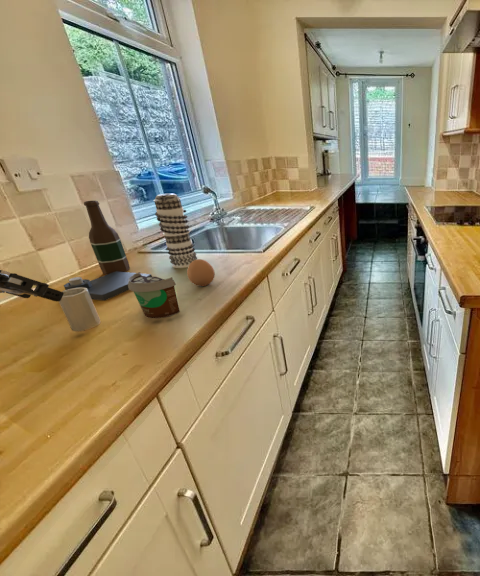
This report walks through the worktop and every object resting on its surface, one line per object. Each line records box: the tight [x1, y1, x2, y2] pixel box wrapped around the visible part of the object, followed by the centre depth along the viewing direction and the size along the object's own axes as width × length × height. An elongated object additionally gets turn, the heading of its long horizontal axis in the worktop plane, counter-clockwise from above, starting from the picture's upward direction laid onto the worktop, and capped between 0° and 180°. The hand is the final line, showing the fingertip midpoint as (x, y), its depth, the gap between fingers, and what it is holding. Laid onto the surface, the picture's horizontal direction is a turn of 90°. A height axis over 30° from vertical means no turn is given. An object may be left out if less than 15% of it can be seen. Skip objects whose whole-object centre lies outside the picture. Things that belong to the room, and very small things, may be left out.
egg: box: [186, 258, 216, 287], centre depth 98 cm, size 7×7×8 cm
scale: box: [63, 271, 153, 301], centre depth 97 cm, size 14×16×4 cm
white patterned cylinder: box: [152, 193, 198, 269], centre depth 112 cm, size 9×9×25 cm
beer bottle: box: [83, 200, 131, 275], centre depth 106 cm, size 8×8×24 cm
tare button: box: [68, 276, 84, 285], centre depth 92 cm, size 3×3×2 cm
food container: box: [128, 272, 181, 319], centre depth 80 cm, size 12×6×10 cm, turn 71°
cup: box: [58, 287, 102, 332], centre depth 75 cm, size 5×5×9 cm
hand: (45, 295), depth 69 cm, fingers open, 8 cm apart
